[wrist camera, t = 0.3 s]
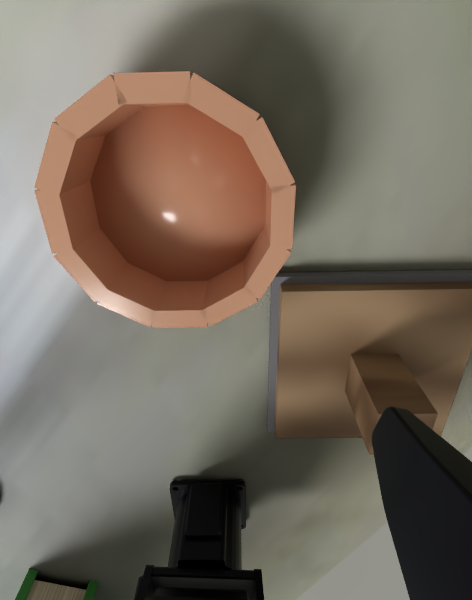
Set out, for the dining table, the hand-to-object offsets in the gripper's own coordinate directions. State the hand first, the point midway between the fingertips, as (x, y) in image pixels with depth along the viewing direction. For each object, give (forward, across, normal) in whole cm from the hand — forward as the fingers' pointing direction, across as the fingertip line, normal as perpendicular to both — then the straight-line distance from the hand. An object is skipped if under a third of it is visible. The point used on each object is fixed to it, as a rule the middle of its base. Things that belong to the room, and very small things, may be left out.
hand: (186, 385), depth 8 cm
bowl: (+14, +2, -1) cm, 14 cm away
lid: (+13, -12, +7) cm, 19 cm away
